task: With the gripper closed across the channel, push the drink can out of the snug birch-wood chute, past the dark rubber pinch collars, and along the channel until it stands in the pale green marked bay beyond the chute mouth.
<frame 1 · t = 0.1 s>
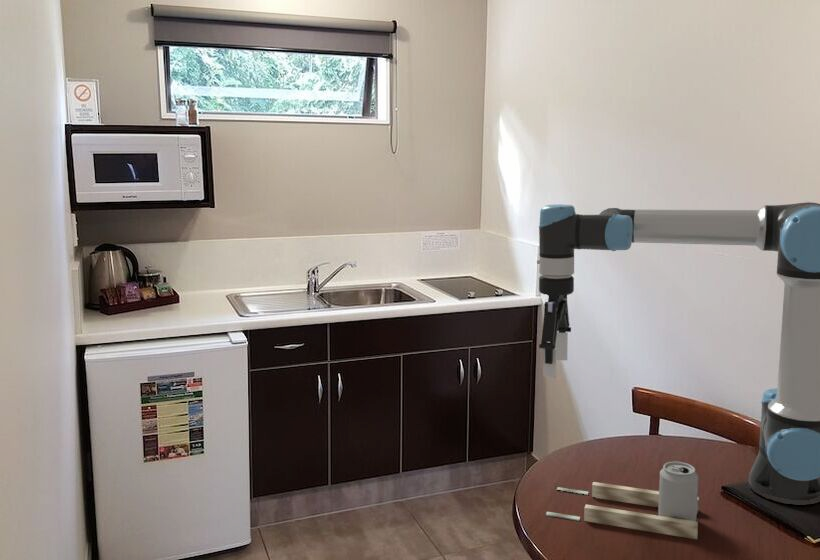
hand: (555, 368, 164), 28 cm above the table, fingers open, 13 cm apart
chute: (641, 515, 154), on the table
can: (676, 521, 151), on the table
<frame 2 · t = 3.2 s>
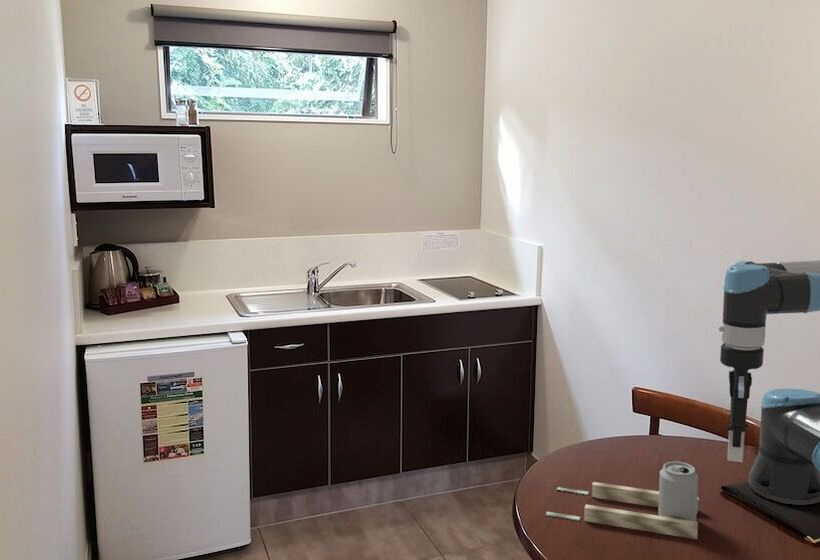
hand: (734, 459, 145), 15 cm above the table, fingers closed
nothing on the table moved.
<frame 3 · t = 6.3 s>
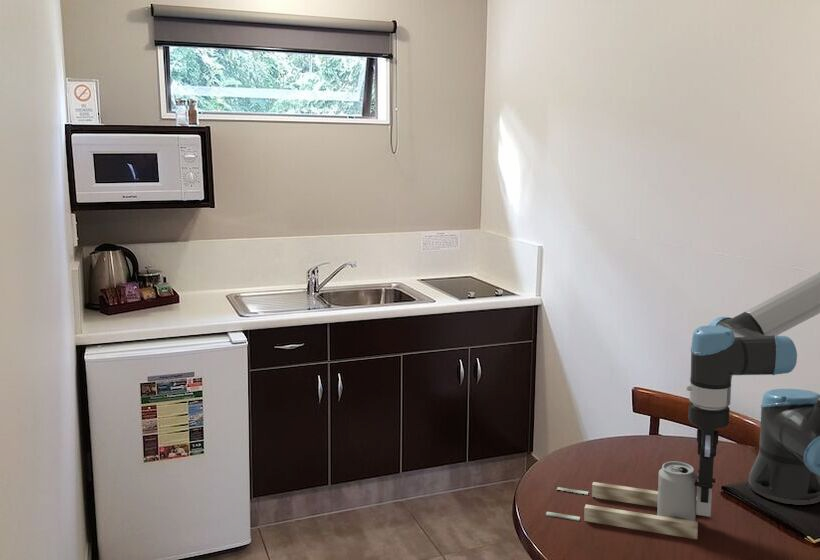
hand: (703, 513, 149), 3 cm above the table, fingers closed
can: (675, 521, 151), on the table, touching gripper
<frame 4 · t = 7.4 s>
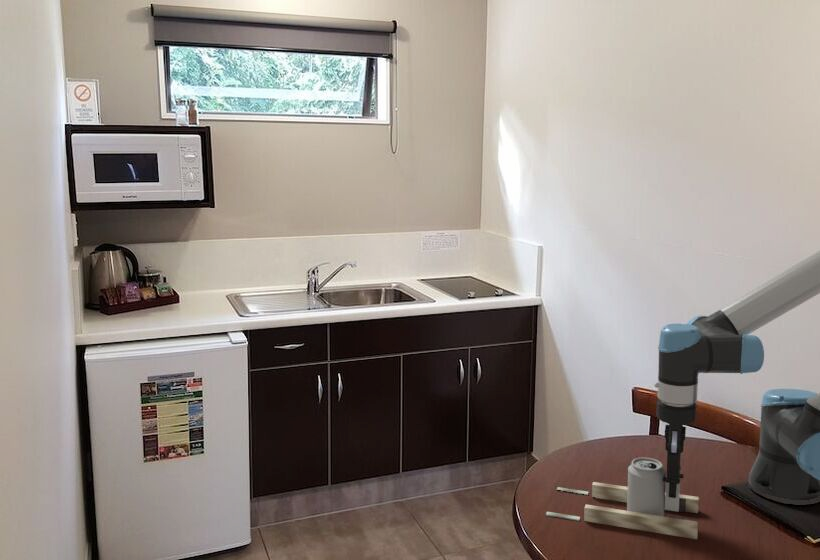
hand: (671, 509, 151), 3 cm above the table, fingers closed
can: (645, 516, 154), on the table, touching gripper
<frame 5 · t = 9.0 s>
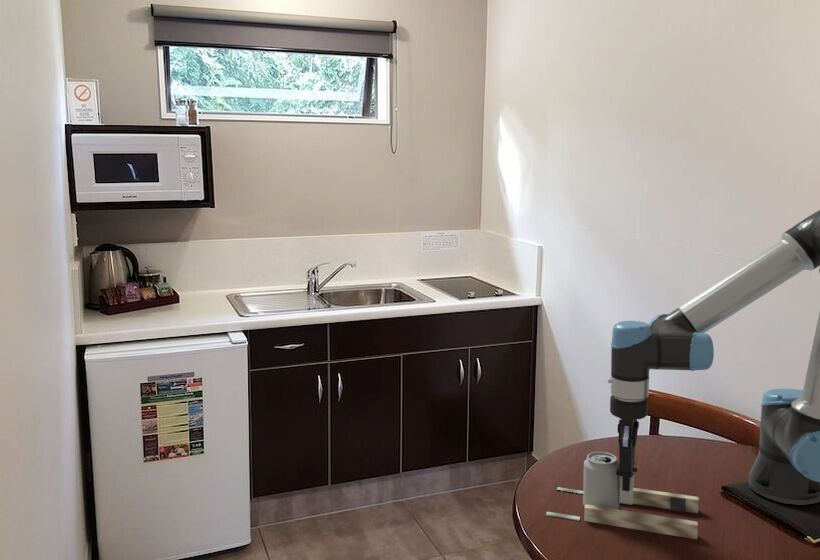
hand: (626, 502, 154), 3 cm above the table, fingers closed
can: (600, 509, 157), on the table, touching gripper
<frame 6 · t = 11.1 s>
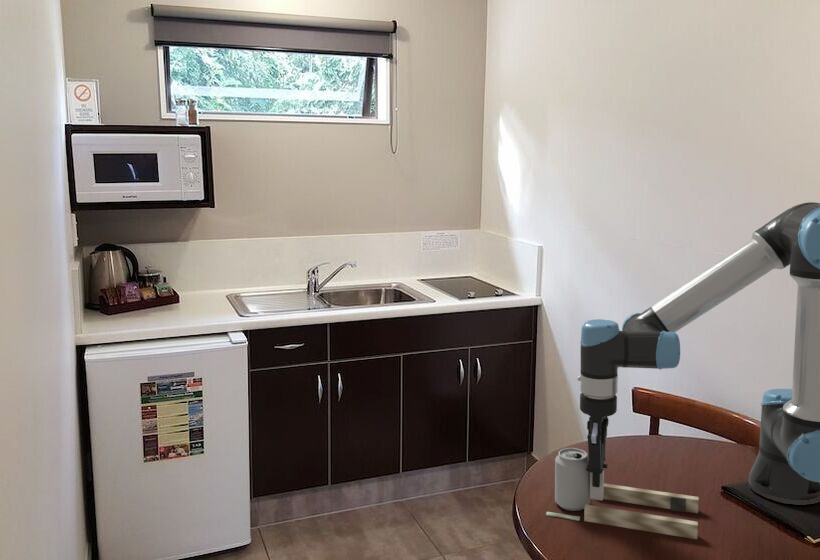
hand: (596, 498, 157), 2 cm above the table, fingers closed
can: (572, 505, 159), on the table, touching gripper
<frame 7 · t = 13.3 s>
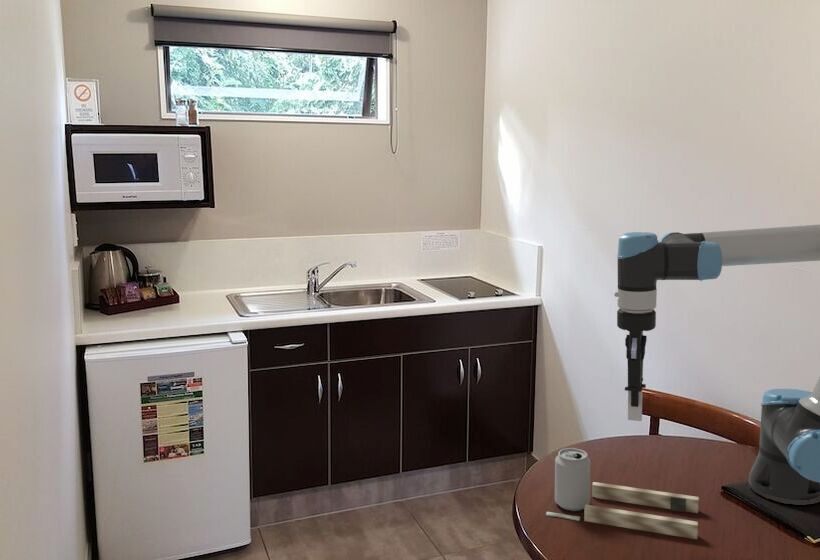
hand: (634, 419, 152), 21 cm above the table, fingers closed
can: (572, 505, 159), on the table
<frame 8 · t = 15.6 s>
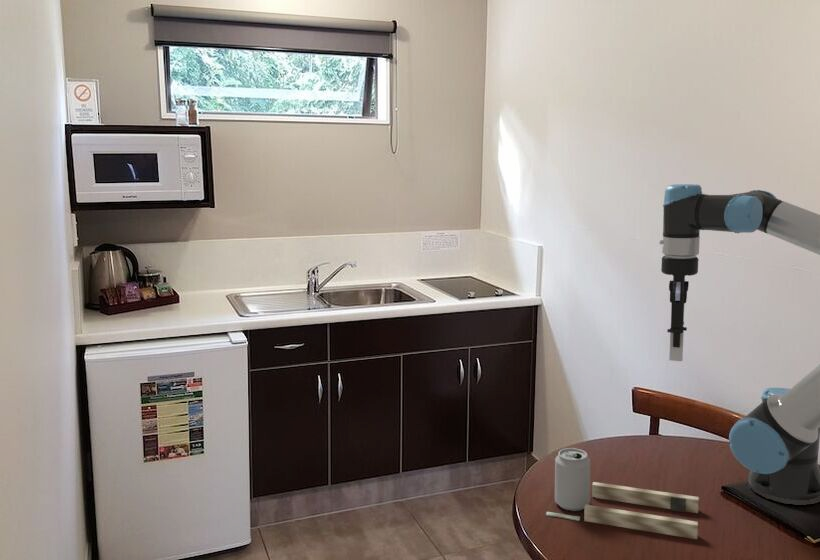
hand: (675, 359, 163), 29 cm above the table, fingers closed
nothing on the table moved.
at the end: can inside the target area (1.4 cm from its centre), on the table; can tilted 0° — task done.
